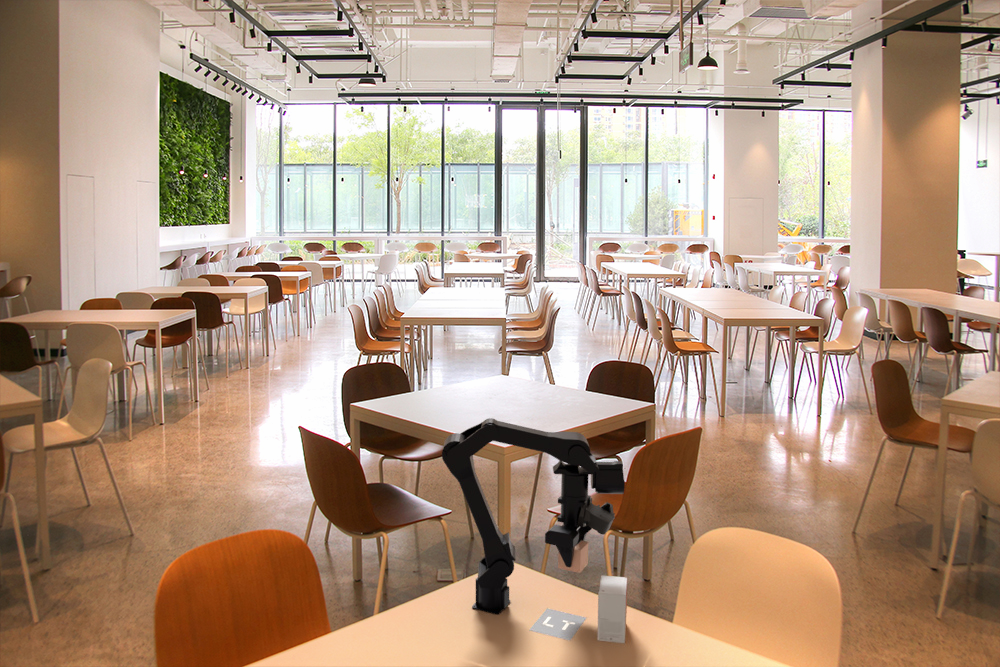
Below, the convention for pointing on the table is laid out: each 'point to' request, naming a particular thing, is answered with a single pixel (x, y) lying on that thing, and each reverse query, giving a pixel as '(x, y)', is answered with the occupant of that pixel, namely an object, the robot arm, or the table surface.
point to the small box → (612, 609)
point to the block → (576, 558)
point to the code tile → (558, 624)
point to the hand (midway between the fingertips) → (572, 561)
